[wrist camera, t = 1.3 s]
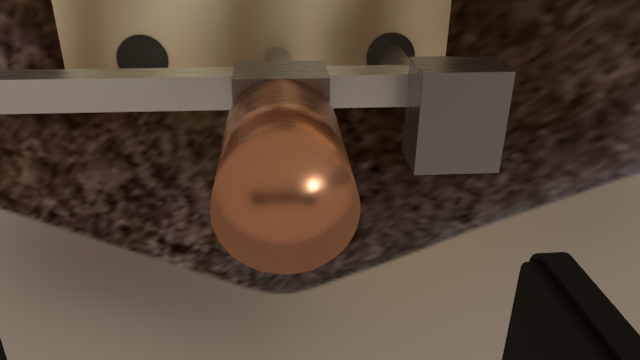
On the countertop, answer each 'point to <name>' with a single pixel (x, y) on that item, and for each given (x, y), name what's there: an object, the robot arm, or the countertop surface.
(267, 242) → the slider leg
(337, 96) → the frame
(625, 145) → the countertop surface
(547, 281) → the robot arm
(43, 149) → the countertop surface
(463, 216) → the countertop surface
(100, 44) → the board
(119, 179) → the countertop surface
